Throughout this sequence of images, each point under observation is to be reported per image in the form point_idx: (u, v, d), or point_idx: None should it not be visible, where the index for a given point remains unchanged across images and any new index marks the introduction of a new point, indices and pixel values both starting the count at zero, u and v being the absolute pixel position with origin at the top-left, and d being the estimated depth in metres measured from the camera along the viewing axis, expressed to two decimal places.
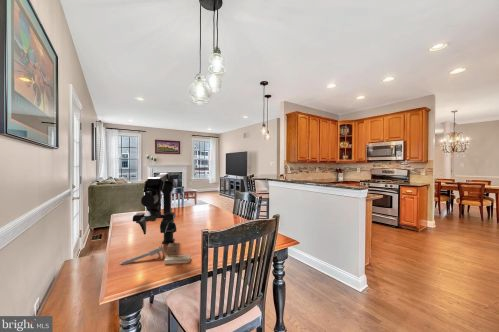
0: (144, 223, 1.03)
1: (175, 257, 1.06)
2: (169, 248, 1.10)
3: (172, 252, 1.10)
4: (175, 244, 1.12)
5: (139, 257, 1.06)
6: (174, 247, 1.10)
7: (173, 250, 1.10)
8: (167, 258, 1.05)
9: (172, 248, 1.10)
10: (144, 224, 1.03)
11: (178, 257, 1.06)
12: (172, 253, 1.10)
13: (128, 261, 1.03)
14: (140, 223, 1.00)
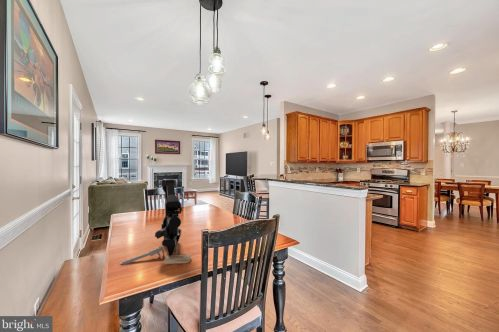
0: None
1: (175, 257, 1.06)
2: None
3: None
4: None
5: (139, 257, 1.06)
6: None
7: None
8: (167, 258, 1.05)
9: None
10: None
11: (178, 257, 1.06)
12: None
13: (128, 261, 1.03)
14: None
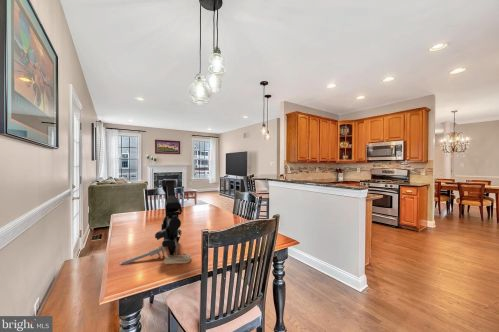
0: None
1: (175, 257, 1.06)
2: None
3: None
4: None
5: (139, 257, 1.06)
6: None
7: None
8: (167, 258, 1.05)
9: None
10: None
11: (178, 257, 1.06)
12: None
13: (128, 261, 1.03)
14: None
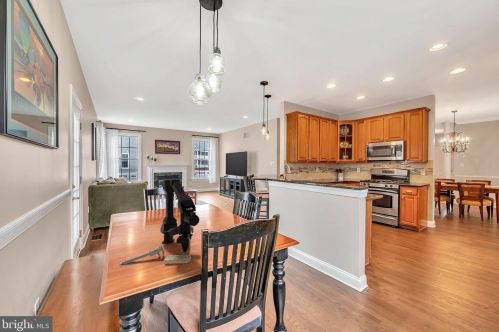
0: None
1: (175, 257, 1.06)
2: None
3: None
4: None
5: (139, 257, 1.06)
6: None
7: None
8: (167, 258, 1.05)
9: None
10: None
11: (178, 257, 1.06)
12: None
13: (128, 261, 1.03)
14: None
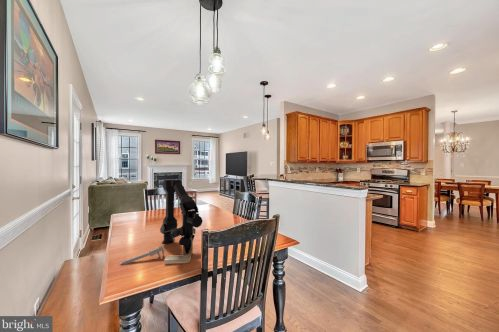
0: None
1: (175, 257, 1.06)
2: None
3: None
4: None
5: (139, 257, 1.06)
6: None
7: None
8: (167, 258, 1.05)
9: None
10: None
11: (178, 257, 1.06)
12: None
13: (128, 261, 1.03)
14: None
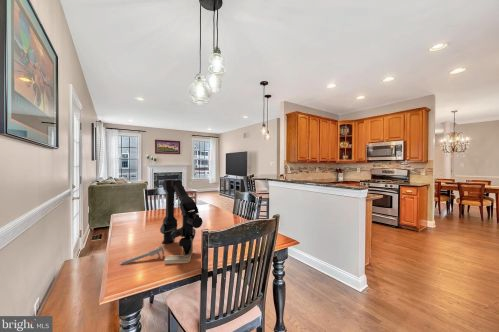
0: None
1: (175, 257, 1.06)
2: None
3: None
4: None
5: (139, 257, 1.06)
6: None
7: None
8: (167, 258, 1.05)
9: None
10: None
11: (178, 257, 1.06)
12: None
13: (128, 261, 1.03)
14: None
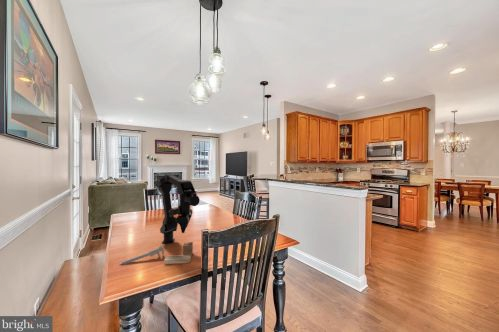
0: None
1: (175, 257, 1.06)
2: (185, 247, 1.11)
3: (188, 251, 1.11)
4: (190, 243, 1.14)
5: (139, 257, 1.06)
6: (189, 246, 1.11)
7: (189, 249, 1.11)
8: (167, 258, 1.05)
9: (188, 247, 1.11)
10: None
11: (178, 257, 1.06)
12: (188, 252, 1.11)
13: (128, 261, 1.03)
14: None
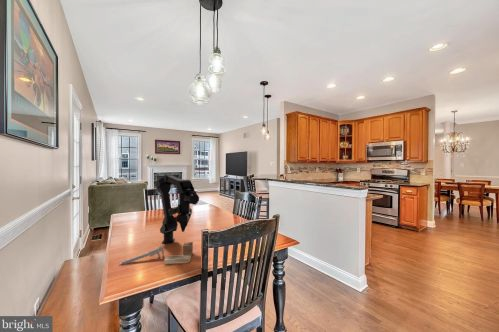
0: None
1: (175, 257, 1.06)
2: (185, 247, 1.11)
3: (188, 251, 1.11)
4: (190, 243, 1.14)
5: (139, 257, 1.06)
6: (189, 246, 1.11)
7: (189, 249, 1.11)
8: (167, 258, 1.05)
9: (188, 247, 1.11)
10: None
11: (178, 257, 1.06)
12: (188, 252, 1.11)
13: (128, 261, 1.03)
14: None
